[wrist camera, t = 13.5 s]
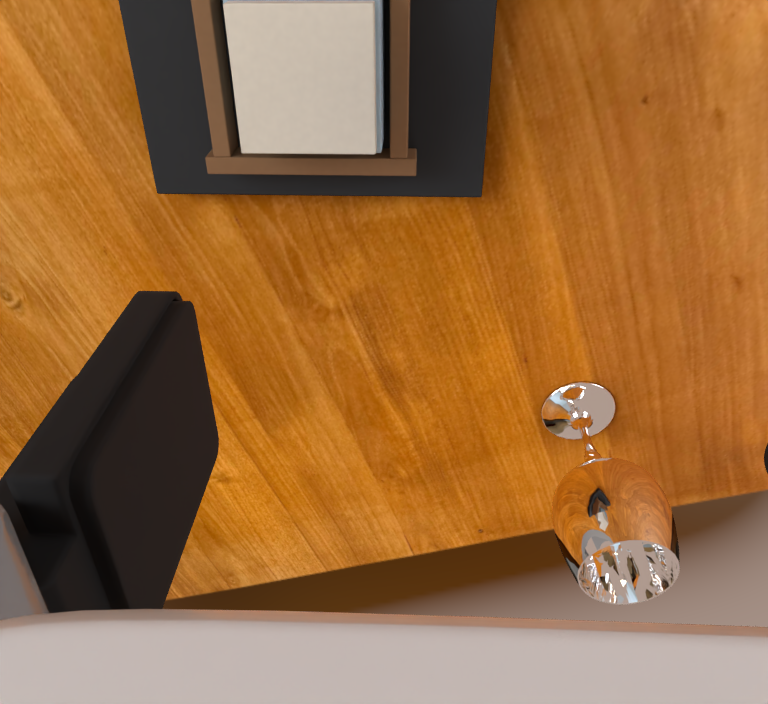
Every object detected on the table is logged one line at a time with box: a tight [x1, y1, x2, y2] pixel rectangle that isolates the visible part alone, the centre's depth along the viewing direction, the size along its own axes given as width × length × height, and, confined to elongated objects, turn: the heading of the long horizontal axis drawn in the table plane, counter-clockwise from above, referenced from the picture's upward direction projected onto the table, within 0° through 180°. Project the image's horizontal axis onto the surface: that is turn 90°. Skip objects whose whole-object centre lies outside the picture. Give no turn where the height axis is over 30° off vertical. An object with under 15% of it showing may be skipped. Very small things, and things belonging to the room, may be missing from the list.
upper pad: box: [223, 0, 385, 154], centre depth 28 cm, size 6×6×4 cm
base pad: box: [119, 0, 497, 197], centre depth 30 cm, size 16×12×3 cm
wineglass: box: [541, 382, 680, 605], centre depth 36 cm, size 6×6×12 cm
